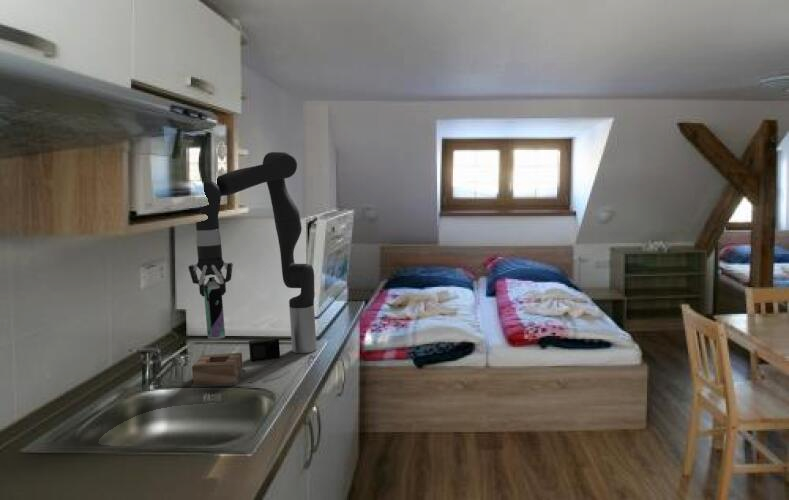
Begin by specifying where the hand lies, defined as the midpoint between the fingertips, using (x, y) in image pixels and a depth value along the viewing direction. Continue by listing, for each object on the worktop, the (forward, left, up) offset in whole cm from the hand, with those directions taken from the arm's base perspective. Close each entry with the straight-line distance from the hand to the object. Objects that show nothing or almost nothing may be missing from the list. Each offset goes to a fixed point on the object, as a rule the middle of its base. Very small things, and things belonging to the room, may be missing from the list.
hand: (213, 295), depth 198 cm
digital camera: (-21, +11, -28) cm, 37 cm away
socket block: (0, 0, -28) cm, 28 cm away
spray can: (0, 0, -14) cm, 14 cm away
